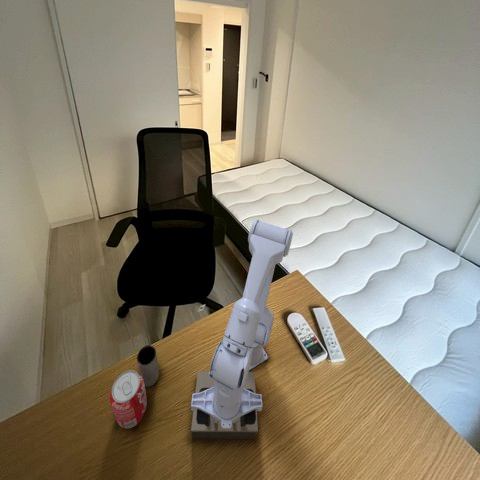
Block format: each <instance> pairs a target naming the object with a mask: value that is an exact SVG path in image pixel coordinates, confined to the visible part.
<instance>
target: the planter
mask: <svg viewBox="0 0 480 480" xmlns="http://www.w3.org/2000/svg"><path fill="white" fill-rule="evenodd" d="M136 362H137V363H136V364H137V368H138V373H139V374H140V375H141V376H142V378H143V381H144V385H145V388H149V387H152V386H154V385H155V384H156V382H157V381H158V379H159V376H160V372H159V370H160V369H159V363H158V355H157V349H156V347H155V346H153V345H152V344H147V345H144V346H142V348H140V349H139V350H138V352H137V354H136Z"/></svg>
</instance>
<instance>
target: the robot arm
mask: <svg viewBox="0 0 480 480" xmlns="http://www.w3.org/2000/svg"><path fill="white" fill-rule="evenodd" d="M293 236H294V232H293V230H292V229H288V228H284V227H281V226H279V225H278V226H277V225H275V224H271V223H268V222H265V221H261V220H259V219H255V220H253V222H252V224H251V226H250V229H249V232H248V236H247V242H248V250H249V252H250V254H251V256H252V257H251V261H250V265H249V270H248V273H247V278H246V281H245V286H244V289H243V293H242V297H241V298H240V299H238V300H237V301H235V302H234V303H233V306H232V310H231V313H230V316H229V319H228V322H227V325H226V328H225V331H224V333H223V336H222V339H221V341H220V342H219V343H218V345H217V346H216V347H215V350H214V353H213V355H212V358H211V362H210V366H209V367H210V368H209V371H208V372H209V377H210V378H212V379H213V380H214V387H212V388H202V389H201V390H200V391H199V393H195V392H193V393H192V396H191V402H190V403H191V404H190V411H192V412H193V411H195V410H196V409H197V417H196V420H197V424H205V425H206V426H209V423H210V415H211V416H213V417H215V418H217V419H219V420H220V421H221V427H222V429H231V427H232V421H233V420H235V419H237V418H239V417H240V426H242V427H243V426H245V425H253V424H254V423H255V421H256V410H257V412H262V411H263V395H262V394H261V393H256V394H255V393H254V391H253V390H252V389H244V388H243V387H244V385H245V382H246V379H247V376H248V372H250V370H252V369H255V368H256V367H257V366H258V365H261V364H262V363H264V362H265V361H266V360H268V354H267V352H266V351H265V349H264V347H267V346H268V345H269V342H270V339H271V334H272V331H273V325H274V319H275V317H274V313H273V312H272V310H271V309H270V308H269V307H268V305H267V304H268V299H269V296H270V295H269V294H270V291H271V285H272V281H273V277H274V272H275V268H276V265H278V264H279V263H282V262H283V260H284V258H286V257H288V255H289V252H290V248H291V244H292V240H293ZM223 425H224V426H223ZM229 425H230V426H229Z"/></svg>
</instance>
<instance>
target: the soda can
mask: <svg viewBox="0 0 480 480" xmlns="http://www.w3.org/2000/svg"><path fill="white" fill-rule="evenodd" d="M146 390H147V389H146V387H145V385H144V381H143V378H142V376H141V375H140V373H139V371H136V370H135V369H134V370H133V369H127V370H125V371H123V372H122V373H121V374H119V375H118V376H117V378H115V381H114V382H113V385H112V387H111V390H110V394H109V401H110V406H111V410H112V413H113V416H114V419H115V421H116V423H117V425H118V426H119V427H121V428H122V429H124V430H127V429H128V430H129V429H131V428H134V427H135V426H138V424H139V423H140V422H141V421H142V419H143V418H144V415H145V414H146V412H147V411H146V410H147V407H148V397H147V391H146Z"/></svg>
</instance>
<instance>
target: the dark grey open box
mask: <svg viewBox="0 0 480 480" xmlns="http://www.w3.org/2000/svg"><path fill="white" fill-rule="evenodd" d="M257 433H258V432H191V439H192V440H256V436H257Z"/></svg>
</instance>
